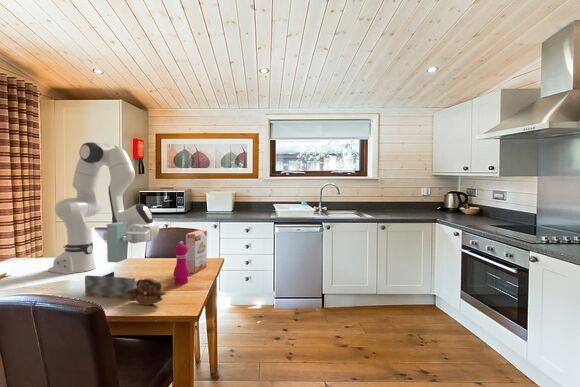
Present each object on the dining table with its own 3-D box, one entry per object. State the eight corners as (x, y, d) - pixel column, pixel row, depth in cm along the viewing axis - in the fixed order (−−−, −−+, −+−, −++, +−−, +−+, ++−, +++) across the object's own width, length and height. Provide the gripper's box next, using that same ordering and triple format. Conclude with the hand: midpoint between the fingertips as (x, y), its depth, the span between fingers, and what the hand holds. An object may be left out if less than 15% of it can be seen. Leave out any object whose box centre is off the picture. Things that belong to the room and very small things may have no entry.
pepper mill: (180, 285, 153) (180, 243, 152) (170, 283, 157) (169, 241, 156) (192, 281, 159) (192, 240, 158) (182, 279, 163) (182, 239, 162)
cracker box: (195, 273, 172) (195, 234, 171) (185, 273, 174) (184, 233, 173) (207, 266, 186) (207, 230, 185) (197, 266, 187) (197, 229, 186)
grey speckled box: (85, 296, 138) (84, 276, 138) (113, 282, 156) (113, 265, 156) (133, 299, 135) (133, 279, 135) (157, 285, 153) (157, 267, 153)
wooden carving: (123, 304, 129) (123, 279, 129) (131, 300, 134) (131, 276, 133) (162, 308, 127) (162, 282, 126) (168, 303, 131) (168, 279, 131)
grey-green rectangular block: (107, 262, 139) (106, 224, 138) (117, 258, 145) (117, 222, 144) (117, 262, 138) (116, 224, 137) (127, 258, 145) (126, 222, 144)
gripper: (114, 226, 155) (93, 230, 142) (155, 227, 152) (137, 232, 139) (115, 239, 156) (93, 245, 142) (155, 240, 153) (137, 247, 139)
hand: (115, 238), depth 140 cm, fingers closed on grey-green rectangular block, 4 cm apart
